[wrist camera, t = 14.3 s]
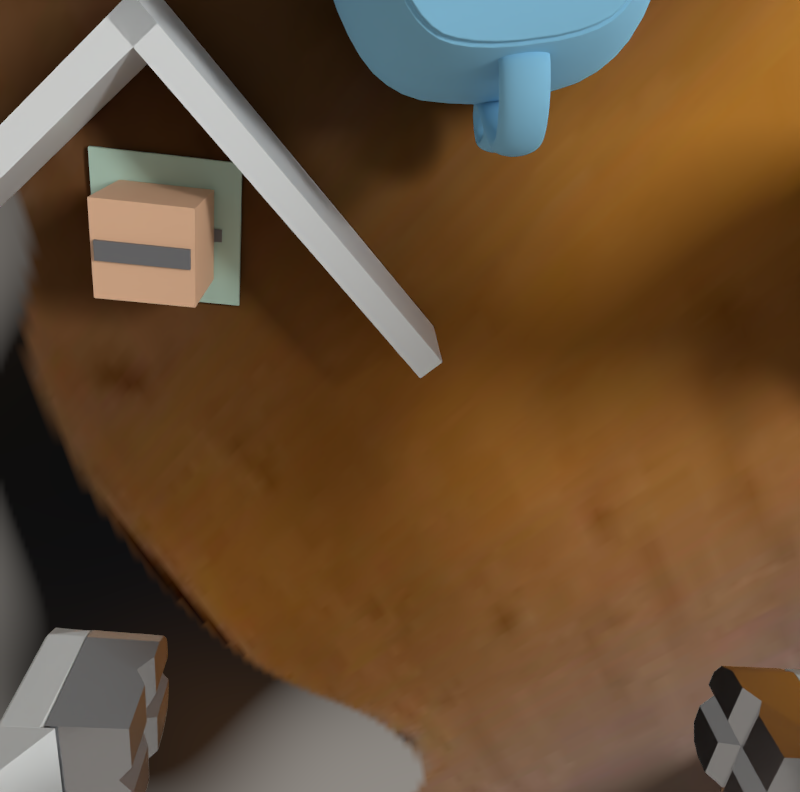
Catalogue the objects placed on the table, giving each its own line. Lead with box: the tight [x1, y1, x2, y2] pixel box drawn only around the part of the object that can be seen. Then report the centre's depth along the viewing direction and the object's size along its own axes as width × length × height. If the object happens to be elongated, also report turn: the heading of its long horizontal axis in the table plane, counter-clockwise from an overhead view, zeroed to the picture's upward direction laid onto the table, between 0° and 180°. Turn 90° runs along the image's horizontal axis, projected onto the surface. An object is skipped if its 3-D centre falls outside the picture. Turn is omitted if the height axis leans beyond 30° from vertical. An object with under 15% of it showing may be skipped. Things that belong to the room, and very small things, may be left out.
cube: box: [87, 180, 214, 307], centre depth 38 cm, size 5×5×5 cm
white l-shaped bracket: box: [0, 0, 442, 378], centre depth 39 cm, size 22×18×6 cm
